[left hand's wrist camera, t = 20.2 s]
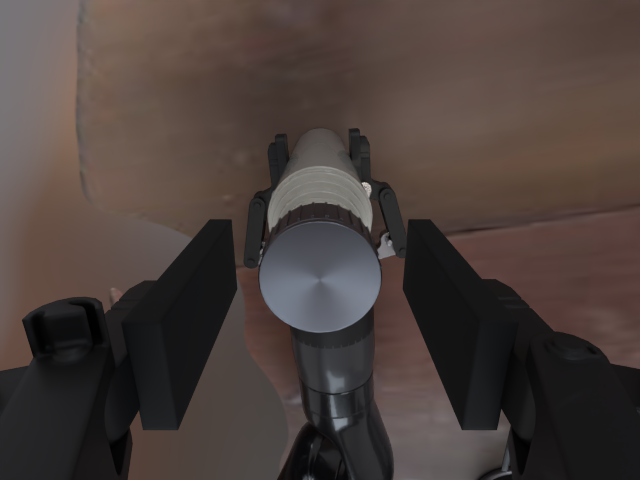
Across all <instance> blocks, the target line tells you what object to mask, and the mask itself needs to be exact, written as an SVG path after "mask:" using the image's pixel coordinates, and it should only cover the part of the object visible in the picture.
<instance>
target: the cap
mask: <svg viewBox="0 0 640 480" xmlns="http://www.w3.org/2000/svg"><path fill="white" fill-rule="evenodd" d="M378 256H379V253H378V250H377V247H376V245H375V242H374V239H373V237H371V234H370V231H369V228H368V226H365V225H364V224H363V222H362V220H361V218H360V217H359V218H358V217H357V216H356V215H354V214H353V213H352V211H351V210H350V209H349V210H347V209H345V208H343V207H340V205H339V204H338V205H334V204H328V203H327V202H325V203H315V202H312V203H311V204H307V205H303V206H302V205H300V206H299V207H297V208H295V209H294V210H292V211H291V210H289V211H288V213H287V214H286V215H284V216H283V217H282V218H281V217H280V218H279V220H278V223H277V224H276V225H275V227H272V228H271V231H270V234H269V237H267V240H266V243H265V245H264V248H263V251H262V254H261V257H262V259H261V262H260V265H259V287H260V291H261V294H262V296H263V299H264V301H265V302H266V304H267V306H268V307H269V308H270V310H271V311H272V312H273V313H274V314H275V315H276V316H277V317H278V318H279V319H281V320H282V321H284V322H285V323H287V324H289V325H290V326H292V327H295V328H297V329H300V330H304V331H309V332H331V331H337V330H340V329H343V328H345V327H348V326H350V325H352V324H354V323H355V322H357V321H358V320H360V319H361V318H362V317H363V316H364V315H365V314H366V313H367V312H368V311H369V310H370V309H371V307H372V306H373V304H374V303H375V301H376V299H377V297H378V294H379V292H380V288H381V281H382V271H381V269H382V266H381V263H380V261H379V258H378Z"/></svg>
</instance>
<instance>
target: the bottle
mask: <svg viewBox="0 0 640 480" xmlns="http://www.w3.org/2000/svg"><path fill="white" fill-rule="evenodd" d="M312 202H315V203H325V202H327V203H328V204H334V205H338V204H339V205H340V207H343V208H345V209H347V210H349V209H350V210H351V211H352V213H353V214H354V215H356V216H357V217H358V218H359V217H360V218H361V220H362V222H363V224H364V225H365V226H368V228H369V231H370V232H371V227H372V207H371V203H370V200H369V197H368V195H367V193H366V190H365V188H364V186H363V184H362V182H361V180H360V177H359V175H358V173H357V171H356V169H355V167H354V165H353V162H352V160H351V158H350V156H349V154H348V152H347V149H346V147H345V145H344V143H343V141H342V140H341V138H340V137H339V136H338V135H337V134H336V133H334V132H333V131H331V130H328V129H324V128H316V129H312V130H309V131H307V132H306V133H304V134H303V135H302V136H301V137H300V138H299V140H298V141H297V143H296V145H295V147H294V150H293V152H292V154H291V156H290V158H289V160H288V163H287V165H286V167H285V169H284V171H283V173H282V176H281V178H280V180H279V182H278V184H277V186H276V189H275V191H274V193H273V195H272V197H271V200H270V203H269V208H268V225H269V231H271V228H272V227H275V225H276V224H277V223H278V220H279V218H280V217H281V218H282V217H283V216H284V215H286V214H287V213H288V211H289V210H291V211H292V210H294V209H295V208H297V207H299V206H300V205H302V206H303V205H307V204H311V203H312Z"/></svg>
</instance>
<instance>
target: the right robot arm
mask: <svg viewBox="0 0 640 480" xmlns="http://www.w3.org/2000/svg"><path fill="white" fill-rule="evenodd" d="M349 151H350V158H351V160H352V162H353V165H354V167H355V169H356V171H357V173H358V175H359V177H360V180H361V182H362V184H363V186H364V188H365V190H366V193H367V195H368V197H369V198H371V199H374V200H378V201H379V205H380V208H381V212H382V215H383V219H384V222H385V226H386V229H385V230H383V231H381V233H380V235H379V238H380V240H379V243H378V244H377V245H376V247H377V250H378V253H379V256H378V258H379V259H382V258H386V257H389V256H392V255H396V256H398V257H399V258H405V256H406V244H407V236H406V233H405V229H404V225H403V222H402V218H401V214H400V211H399V207H398V203H397V200H396V196H395V193H394V191H393V190H392V189H391V187H390V186H389V185H388V184H387V183H386V182H378V181H375V180H373V179H371V176H370V148H369V142H368V140H367V138H366V137H365V136H360V131H359V129H358V128H353V129H349ZM268 159H269V167H270V175H271V183H272V185H271V187H270V188H268V189H266V190H264V191H259V192H257V193H256V194H255V196H254V198H253V199H252V200H251V202H250V206H249V215H248V225H247V234H246V244H245V253H244V264H245V266H246V267H248V268H255V267H257V265H258V264H259V265H260V262H261V259H262V257H261V254H262V251H263V248H264V245H265V243H266V240H267V239H266V238H264V235H265V227H266V219H267V211H268V208H269V203H270V200H271V197H272V195H273V193H274V191H275V189H276V186H277V184H278V182H279V180H280V178H281V176H282V173H283V171H284V169H285V167H286V165H287V163H288V160H289V153H288V143H287V135H286V134H277V135H276V136H275V143H271V144H270V145H269V149H268ZM290 330H291V338H292V346H293V353H294V358H295V362H296V365H297V368H298V373H299V381H300V390H301V398H302V405H303V410H304V413H305V416H306V418H307V420H308V422H307V423H306V424H305V425H304V426H303V427H302V428H301V430H300V431H299V433H298V435H297V437H296V439H295V442H294V444H293V446H292V449H291V451H290V454H289V456H288V458H287V460H286V463H285V465H284V467H283V469H282V471H281V473H280V475H279V477H278V479H277V480H393V476H394V459H393V452H392V447H391V444H390V440H389V437H388V434H387V432H386V429H385V426H384V424H383V421H382V418H381V416H380V413H379V410H378V407H377V405H376V403H375V400H374V389H373V358H374V348H375V340H374V311H373V306H372V307H371V309H370V310H369V311H368V312H367V313H366V314H365V315H364V316H363V317H362V318H361V319H360V320H358V321H357V322H355V323H354V324H352V325H350V326H348V327H345V328H343V329H340V330H337V331H331V332H309V331H304V330H300V329H297V328H295V327H292V326H290ZM501 470H502V468H500V469H497V470H494V471H492V472H490V473H488V474H486V475H485V476H484V477H482V478H481V479H480V480H513V478H512V472H511V467H508V471H507V472H505V471H501Z"/></svg>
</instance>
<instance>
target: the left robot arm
mask: <svg viewBox="0 0 640 480" xmlns="http://www.w3.org/2000/svg"><path fill="white" fill-rule="evenodd" d="M236 291H237V280H236V268H235V256H234V244H233V232H232V220H231V219H210V220H209V221H208V222H207V223H206V225H205V226H204V227H203V228H202V229H201V230H200V231H199V233H198V234H197V235H196V236H195V237H194V238H193V240H192V241H191V242H190V243H189V244H188V245H187V246H186V248H185V249H184V250H183V251H182V252H181V253H180V255H179V256H178V257H177V258H176V259H175V260H174V261H173V263H172V264H171V265H170V266H169V267H168V268H167V270H166V271H165V272H164V273H163V274H162V275H161V277H160V278H159V279H158V280H157V281H143V282H141V283H139V284H137V285H136V286H134V287H132V288H130V289H129V290H128V291H127V292H126V293H125V294H124V295H123V296H122V297H121V298H120V299H119V301H117V302H116V303H115V304H114V305H113V306H112V307H111V310H108V311H107V312H106V313H105V314H104V310H103V306H102V302H100V301H99V300H97V299H96V298H90V297H73V298H67V299H62V300H58V301H55V302H52V303H49V304H46V305H43V306H41V307H39V308H37V309H35V310H34V311H32V312H30V313H29V314H28V315H27V316H26V317H24V318H23V319H22V322H23V325H24V328H25V331H26V335H27V338H28V341H29V344H30V348H31V351H32V354H33V359H32V361H31V363H30V365H29V366H25V367H20V368H14V369H9V370H3V371H0V480H128V472H129V466H130V459H131V452H132V444H133V443H132V436H131V431H130V427H129V426H130V425H131V423H132V421H133V419H134V418H135V416H136V414H137V412H138V411H139V412H140V417H141V422H142V427H143V430H178V429H179V426H180V424H181V422H182V419H183V417H184V414H185V412H186V410H187V407H188V405H189V402H190V400H191V398H192V395H193V393H194V391H195V388H196V386H197V383H198V381H199V379H200V376H201V374H202V371H203V369H204V367H205V364H206V362H207V360H208V357H209V355H210V352H211V350H212V348H213V345H214V343H215V341H216V338H217V336H218V334H219V331H220V329H221V326H222V324H223V322H224V319H225V317H226V315H227V312H228V310H229V307H230V305H231V303H232V300H233V298H234V295H235V293H236ZM403 291H404V293H405V296H406V298H407V300H408V303H409V305H410V307H411V310H412V312H413V315H414V317H415V319H416V322H417V324H418V326H419V329H420V331H421V334H422V336H423V338H424V341H425V343H426V345H427V348H428V350H429V353H430V355H431V357H432V360H433V362H434V364H435V367H436V369H437V372H438V374H439V376H440V379H441V381H442V383H443V386H444V388H445V391H446V393H447V395H448V398H449V400H450V403H451V405H452V407H453V410H454V412H455V414H456V417H457V419H458V422H459V424H460V426H461V429H462V430H497V427H498V422H499V417H500V412H501V409H502V410H503V412H504V414H505V416H506V417H507V419H508V421H509V423H510V424H511V427H510V431H509V436H508V440H507V445H506V449H505V454H504V458H503V463H502V470H501V471H505V472H507V471H508V466H509V463H510V465H511V472H512V478H513V480H640V369H636V368H631V367H625V366H620V365H615V364H611V363H610V362H609V360H608V358H607V357H606V356H605V355H604V353H603V352H602V351H601V350H600V349H599V348H597V347H596V346H594V345H593V344H591V343H590V342H588V341H586V340H584V339H581V338H579V337H576V336H574V335H570V334H566V333H562V332H554V331H553V330H552V329H551V328H550V327H549V326H548V325H547V324H546V323H545V322H544V321H543V320H542V319H541V318H540V317H539V316H538V315H537V313H536V312H535V311H534V310H533V309H532V308H529V305H528V304H527V303H526V302H525V301H524V300H521V297H520V296H519V295H518V294H517V293H516V292H515V291H514V290H513V289H512V288H511V287H509V286H507V285H505V284H503V283H502V282H500V281H498V280H496V279H481V278H480V277H479V275H478V274H477V273H476V272H475V271H474V270H473V268H472V267H471V266H470V265H469V264H468V263H467V261H466V260H465V259H464V258H463V257H462V256H461V255H460V253H459V252H458V251H457V250H456V249H455V248H454V246H453V245H452V244H451V243H450V242H449V241H448V240H447V238H446V237H445V236H444V235H443V234H442V233H441V231H440V230H439V229H438V228H437V227H436V226H435V225H434V223H433V222H432V221H431V220H430V219H409V220H408V232H407V244H406V256H405V268H404V280H403Z"/></svg>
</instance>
